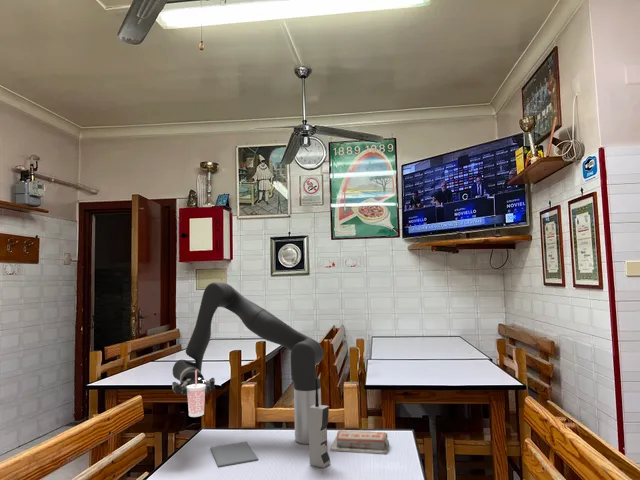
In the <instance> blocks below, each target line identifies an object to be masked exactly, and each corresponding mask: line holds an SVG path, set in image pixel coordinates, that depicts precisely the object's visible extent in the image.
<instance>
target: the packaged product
mask: <svg viewBox="0 0 640 480" xmlns="http://www.w3.org/2000/svg"><path fill="white" fill-rule="evenodd" d="M388 437H389V436H388V433H387V432H382V431H369V430H368V431H366V430H364V431H363V430H349V429H347V430H345V429H342V430H341V429H340V430H339V429H338V430H337V433H336V436H335V438H334V439H333V441H332V442H333V443H332V444H331V446H330V452H345V453H359V454H360V453H361V454H380V455H387V453H388V450H389V444H390V442H389V441H390V439H388Z"/></svg>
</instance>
